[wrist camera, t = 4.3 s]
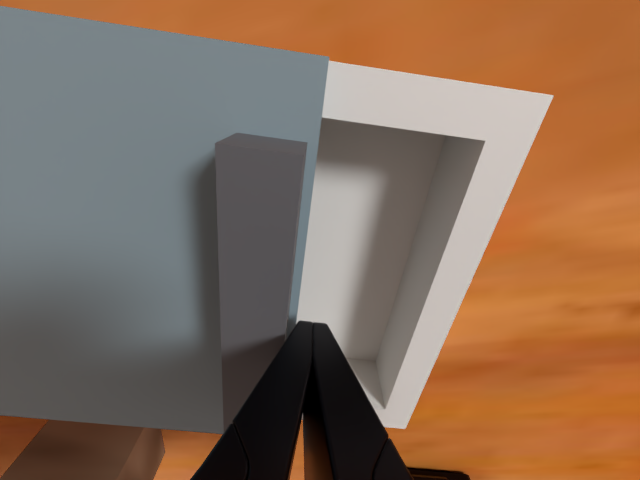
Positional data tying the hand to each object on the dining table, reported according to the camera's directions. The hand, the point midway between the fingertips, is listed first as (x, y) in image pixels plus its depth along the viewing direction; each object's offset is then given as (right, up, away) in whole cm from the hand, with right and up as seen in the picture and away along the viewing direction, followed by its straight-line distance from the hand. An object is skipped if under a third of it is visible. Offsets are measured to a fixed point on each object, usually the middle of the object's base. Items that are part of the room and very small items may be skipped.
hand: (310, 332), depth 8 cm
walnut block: (-12, -9, +10) cm, 18 cm away
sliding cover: (-8, +2, +1) cm, 8 cm away
